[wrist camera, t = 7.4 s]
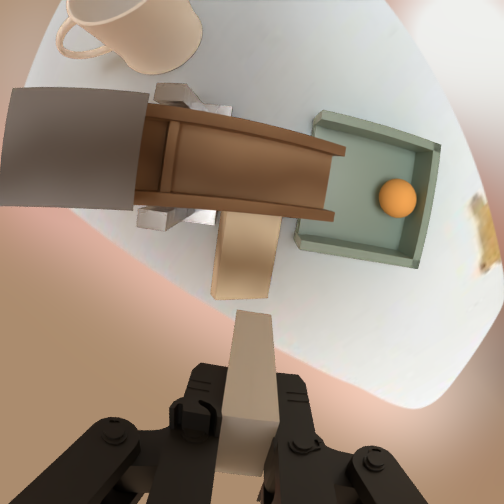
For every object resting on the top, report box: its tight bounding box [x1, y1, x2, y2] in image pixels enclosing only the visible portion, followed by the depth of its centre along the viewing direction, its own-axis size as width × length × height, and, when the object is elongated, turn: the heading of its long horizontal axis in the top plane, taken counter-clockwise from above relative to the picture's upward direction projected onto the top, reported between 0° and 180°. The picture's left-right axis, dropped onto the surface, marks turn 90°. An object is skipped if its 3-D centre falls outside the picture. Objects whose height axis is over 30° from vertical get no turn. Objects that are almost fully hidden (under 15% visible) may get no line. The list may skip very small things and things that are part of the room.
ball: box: [379, 179, 417, 218], centre depth 26 cm, size 4×4×4 cm
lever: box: [0, 87, 346, 300], centre depth 18 cm, size 13×22×6 cm, turn 81°
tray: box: [294, 110, 441, 269], centre depth 26 cm, size 12×11×4 cm
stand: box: [137, 83, 233, 231], centre depth 23 cm, size 11×6×10 cm, turn 171°
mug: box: [56, 0, 202, 75], centre depth 19 cm, size 12×8×12 cm
